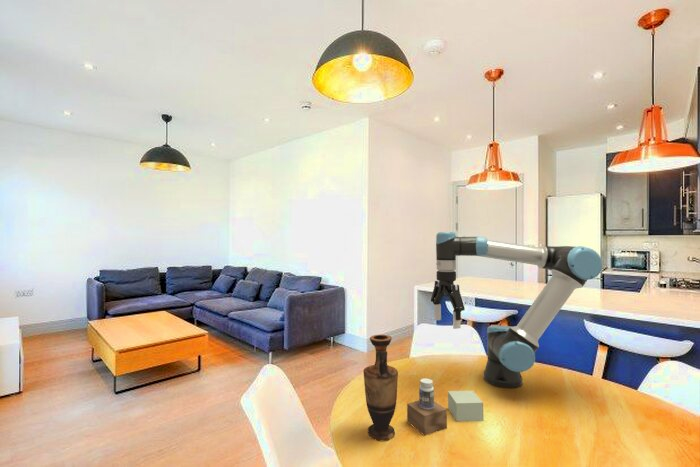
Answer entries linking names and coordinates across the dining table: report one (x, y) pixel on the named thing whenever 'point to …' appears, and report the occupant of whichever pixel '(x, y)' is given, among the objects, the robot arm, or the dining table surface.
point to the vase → (381, 390)
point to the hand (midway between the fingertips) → (446, 324)
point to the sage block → (465, 406)
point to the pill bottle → (426, 394)
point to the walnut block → (427, 417)
